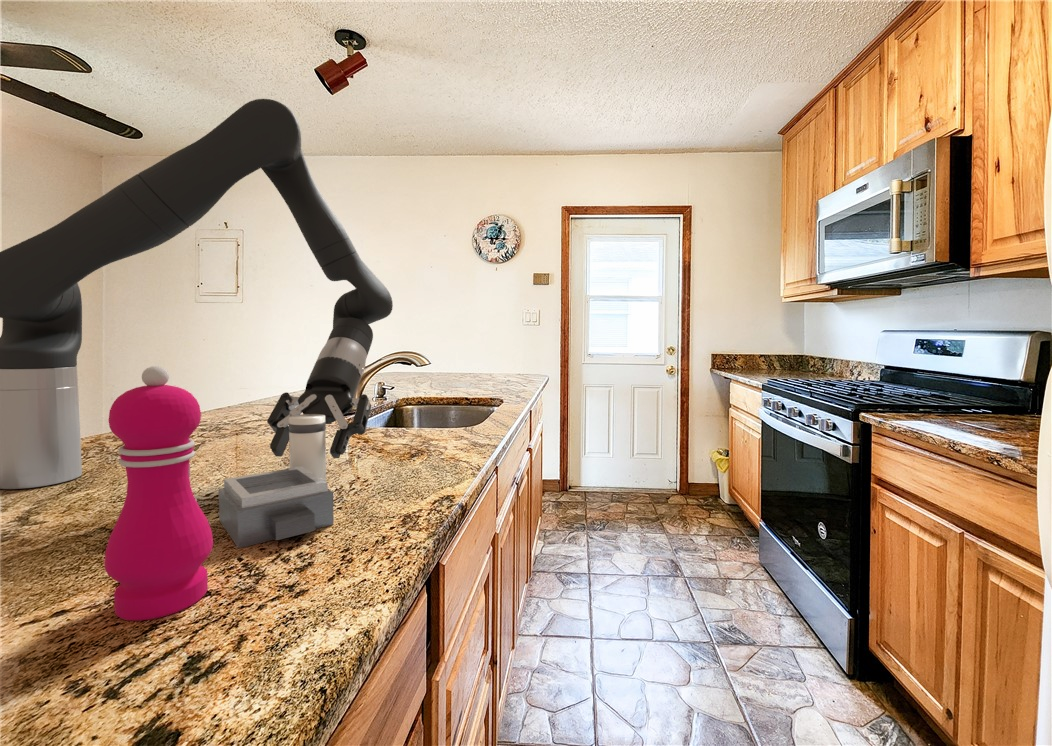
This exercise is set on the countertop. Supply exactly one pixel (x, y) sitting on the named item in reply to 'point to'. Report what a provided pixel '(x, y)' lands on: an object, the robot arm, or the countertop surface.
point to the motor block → (274, 505)
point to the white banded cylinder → (308, 443)
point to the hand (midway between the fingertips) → (305, 454)
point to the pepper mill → (157, 503)
